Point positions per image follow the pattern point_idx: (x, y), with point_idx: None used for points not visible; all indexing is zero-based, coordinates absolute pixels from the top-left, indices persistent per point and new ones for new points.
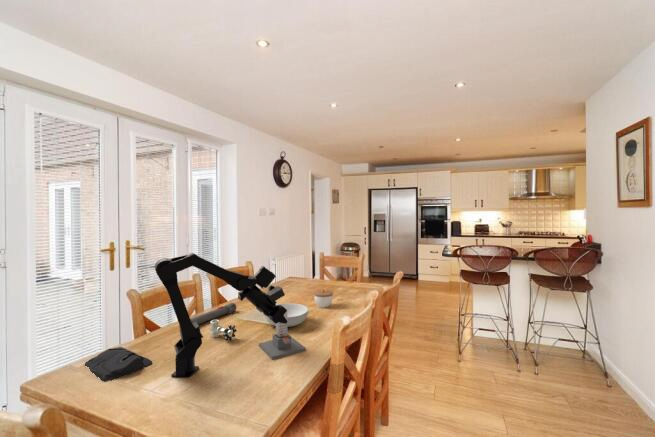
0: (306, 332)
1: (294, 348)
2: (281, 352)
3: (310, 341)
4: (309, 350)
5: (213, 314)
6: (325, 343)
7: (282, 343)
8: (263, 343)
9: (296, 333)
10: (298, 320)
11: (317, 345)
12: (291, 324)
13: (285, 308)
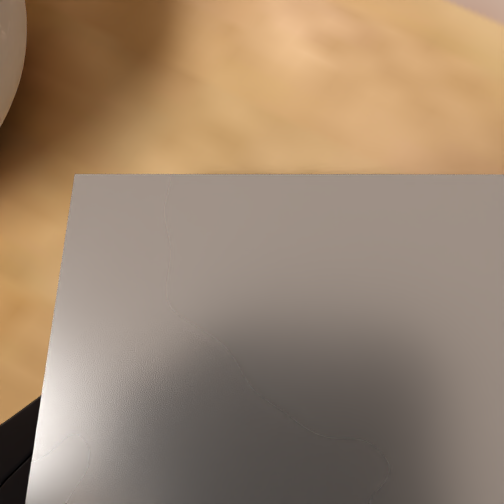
0: (161, 38)
1: None
2: None
3: (336, 85)
4: (499, 169)
5: None
6: (443, 3)
7: None
8: None
9: (128, 110)
10: (19, 8)
11: (442, 72)
12: (15, 88)
13: (453, 241)
